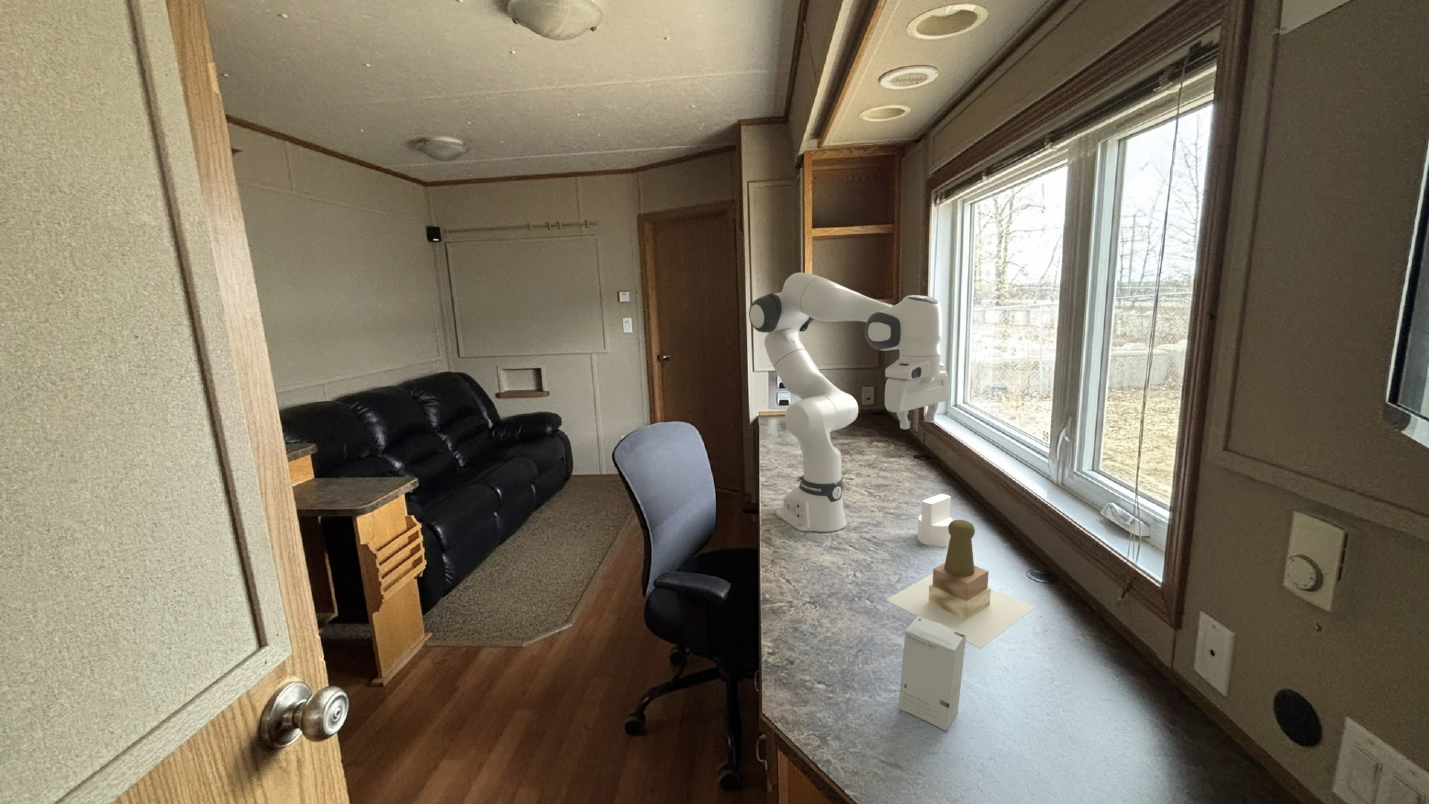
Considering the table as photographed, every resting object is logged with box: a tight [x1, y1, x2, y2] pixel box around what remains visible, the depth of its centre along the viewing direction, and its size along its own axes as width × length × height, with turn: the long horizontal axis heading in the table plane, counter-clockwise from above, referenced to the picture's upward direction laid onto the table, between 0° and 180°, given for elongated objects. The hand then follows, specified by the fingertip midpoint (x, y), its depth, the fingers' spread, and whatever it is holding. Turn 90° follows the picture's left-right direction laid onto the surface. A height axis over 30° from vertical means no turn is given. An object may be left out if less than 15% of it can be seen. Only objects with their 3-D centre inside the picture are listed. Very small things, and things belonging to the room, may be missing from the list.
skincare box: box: [898, 615, 967, 732], centre depth 91 cm, size 8×6×15 cm
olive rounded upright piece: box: [944, 519, 976, 577], centre depth 119 cm, size 6×6×11 cm
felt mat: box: [885, 573, 1036, 649], centre depth 122 cm, size 22×22×1 cm
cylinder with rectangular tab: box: [917, 493, 954, 548], centre depth 152 cm, size 9×9×12 cm
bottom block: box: [928, 584, 992, 620], centre depth 121 cm, size 9×9×4 cm
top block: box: [932, 562, 990, 601], centre depth 120 cm, size 8×8×4 cm
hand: (917, 425), depth 131 cm, fingers open, 8 cm apart
